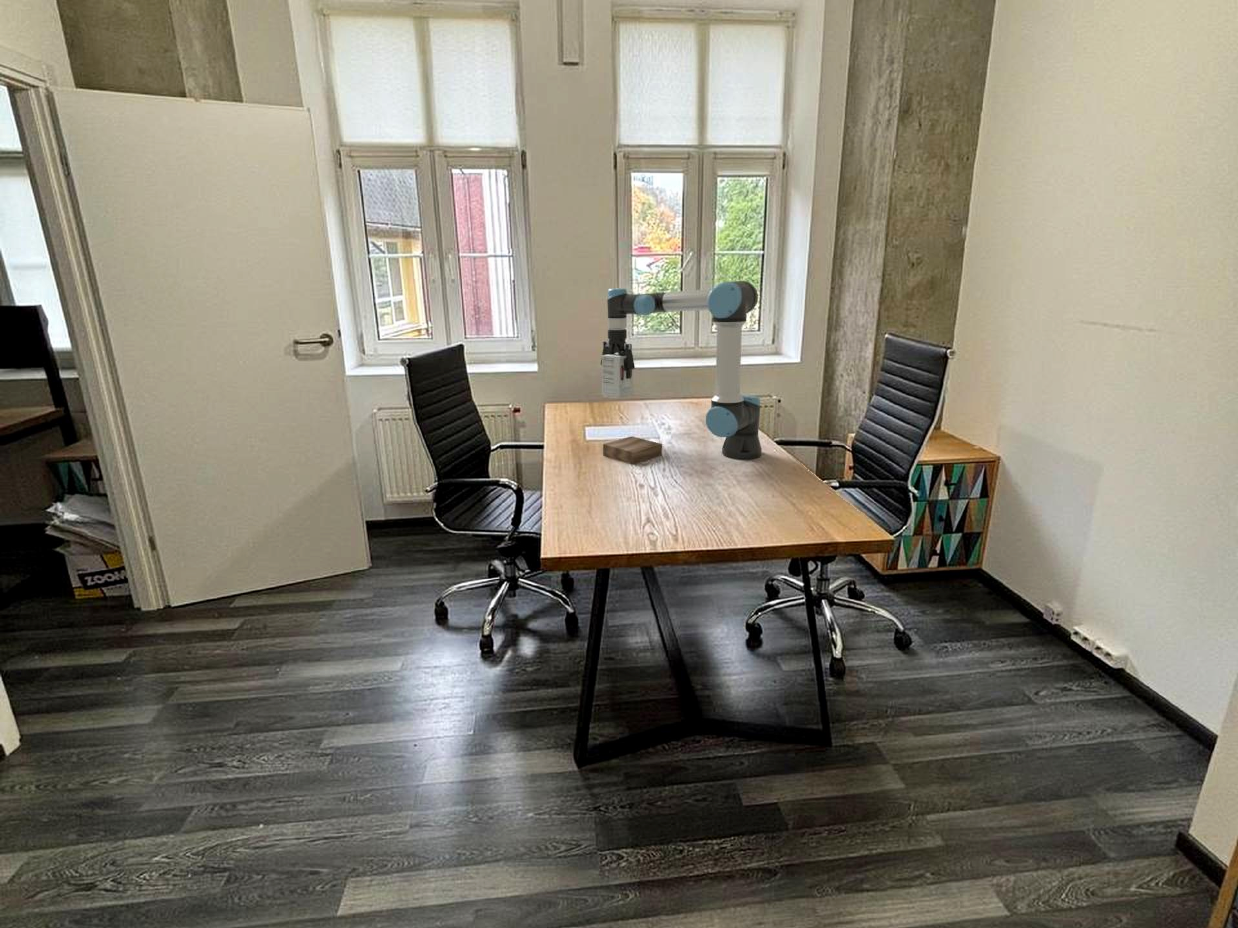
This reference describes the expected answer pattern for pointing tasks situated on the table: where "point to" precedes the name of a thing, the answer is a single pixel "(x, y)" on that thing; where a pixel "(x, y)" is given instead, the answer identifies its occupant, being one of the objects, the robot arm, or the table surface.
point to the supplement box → (615, 377)
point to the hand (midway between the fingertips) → (617, 384)
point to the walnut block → (632, 450)
